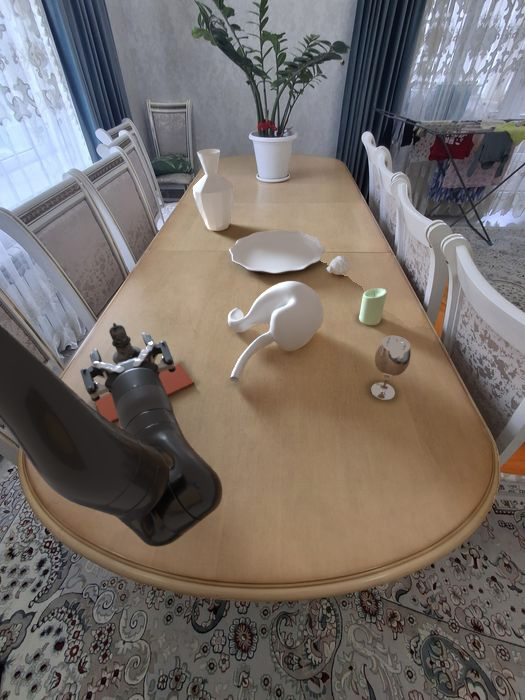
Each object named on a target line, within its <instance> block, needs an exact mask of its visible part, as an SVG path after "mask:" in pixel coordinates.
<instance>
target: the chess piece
mask: <svg viewBox="0 0 525 700" xmlns="http://www.w3.org/2000/svg"><path fill="white" fill-rule="evenodd" d="M108 331H109V335H110V337H111V339H112V341H111V345H112V346H113V347H115V350H116V351H115V352H114V354H112V362H113V363H114V365H117V364H118V363H121V362H126V361H128V360H130V359H132V358H135V357H136V358H138V357H139V355H140V353H141V352H142V349H141V348H140V347H138V346H136V345H132V343H131V337H130V336H129V335H128V333H127V332H126V329H125V327H124V325H122V324H117V323H115V322H113V323H112V326H111V327H110V328H109V330H108Z"/></svg>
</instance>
